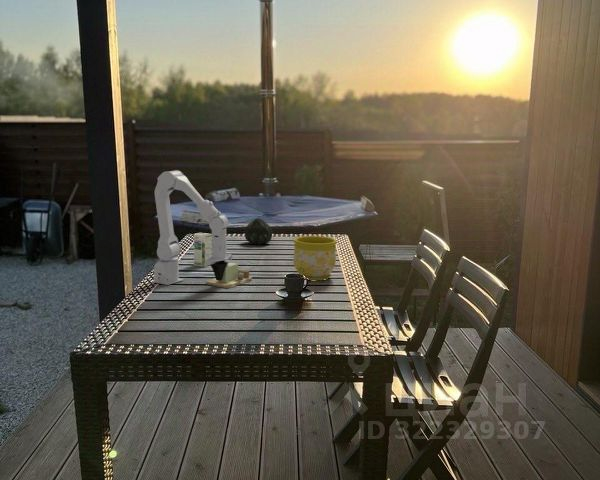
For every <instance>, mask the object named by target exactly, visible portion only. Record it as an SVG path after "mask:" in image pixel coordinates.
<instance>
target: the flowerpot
mask: <svg viewBox="0 0 600 480" xmlns="http://www.w3.org/2000/svg"><path fill="white" fill-rule="evenodd" d="M337 242H338V241H337V240H336V239H335V238H332V237H328V236H322V235H321V236H319V235H317V236H316V235H305V236H298V237H297V236H296V237H295V238H294V239H293V243H294V245H293V246H294V249H293V265H294V268H295V270H296V272H297V273H299V274H302V275H304V276H305V277H306V278H308V279H309V280H324V279H328V278H329V279H330V278H331V276H332V274H331V273H332V272H333V270H334V268H335V266H336V263H337V253H336V248H337V247H336V246H337V245H336V244H338V243H337ZM329 279H328V280H329Z"/></svg>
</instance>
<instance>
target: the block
mask: <svg viewBox="0 0 600 480" xmlns="http://www.w3.org/2000/svg"><path fill="white" fill-rule="evenodd" d="M238 270H239V264H238V263H234V262H229V263H228V265H227V266H226V268H225V271H224V274H223V278H222V280H221V281H222V282H228V281H231V280H234V279H237V278H238Z"/></svg>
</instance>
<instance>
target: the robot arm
mask: <svg viewBox="0 0 600 480" xmlns="http://www.w3.org/2000/svg"><path fill="white" fill-rule="evenodd" d="M175 190H177V191H181V192H183V193H184V194H185V195H186V196H187V197H189V199H190V200H191V201H193V203H194V204H196V210H197V212H199V214H201V216H202V217H203V218H204V219H205V220H206V221H207V222H208V225H209V228H210V230H211V257H210V258H209V259H207V260H205V265H209V266H210V267H211V268H212V272H213V273H214V279H215V278H216V280H218V281H221V280H222V278H223V274H224V271H225V268H226V266H227V265H228V262H227V261H229V260H233V254H232V253H227V228H228V226H229V219H228V217H227V215H226V214H224V213H222V212H221V211H219V210H218V209H217V208H216V207H215V205H214V203H213V201H210V200H208V199H204V198H203V197H202V196H201V194H200V193H199V192H198V190H196V188H195V186H193V184H192V183H191V182H190V180H189V179H188V177H187V176H186V175H184V173H183V172H182V171H180V170H178V169H175V170H170V171H163V172H162V173H161V174H159V176H158V177H157V184H156V186H155V189H154V198H155V199H154V202H155V205H156V206H155V208H156V214H157V220H158V228H159V235H160V236H159V239H158V242H157V249H156V255H157V258H159V261H158V262H156V263H155V264H154V266H153V275H154V276H153V277H154V278H153V280H152V282H153V283H157V284H160V285H166V286H168V285H172V284H176V283H178V282H182V281H184V278H180V277H179V274H180V273H179V272H180V271H179V269H180V268H179V255H180V254H181V252H182V246H181V245H180V243H179V239H178V237H177V236H176V235H175V232H174V231H175V230H174V223H173V216H172V215H173V214H172V208H171V201H170V200H171V199H170V195H171V193H173V191H175Z"/></svg>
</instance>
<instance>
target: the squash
mask: <svg viewBox="0 0 600 480" xmlns="http://www.w3.org/2000/svg"><path fill="white" fill-rule="evenodd" d="M244 237H245V240H246V241H247V242H249V243H250V244H252V245H255V246H256V245H258V246H260V245H266V244H268V243H269V242H271V240H272V238H273V230H272V228H271V226H270V224H269V223H267V222H266V221H264V220H263V219H261V218H256V219H253V220H252V221H251V222H249V223H247V226H246V227H245V229H244Z"/></svg>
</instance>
